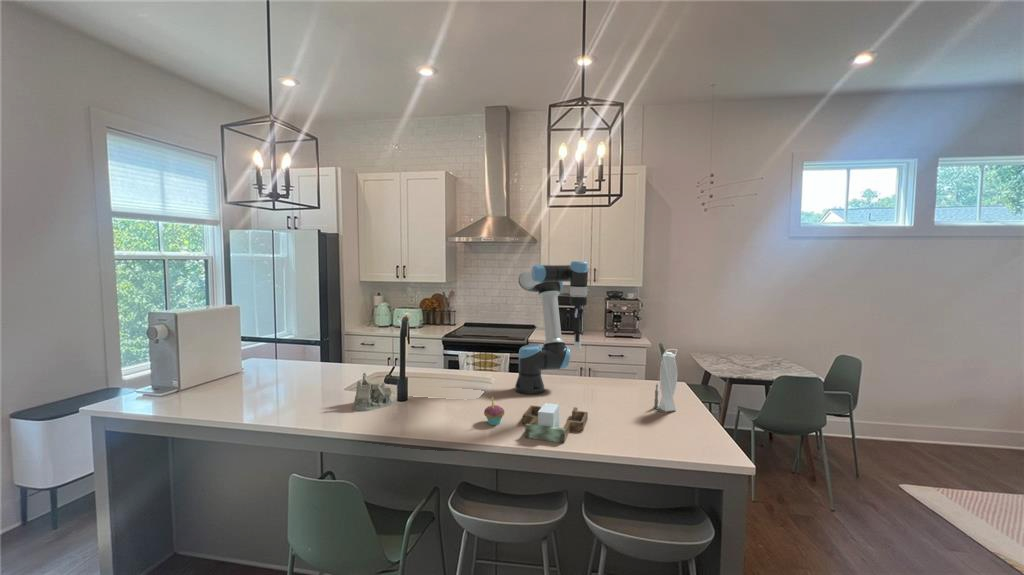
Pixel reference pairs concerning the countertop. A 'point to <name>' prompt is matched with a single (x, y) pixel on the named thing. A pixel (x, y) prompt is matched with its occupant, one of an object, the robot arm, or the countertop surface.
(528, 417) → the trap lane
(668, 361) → the skyscraper
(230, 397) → the countertop surface
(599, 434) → the countertop surface
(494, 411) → the cupcake
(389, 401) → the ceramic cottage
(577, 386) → the countertop surface
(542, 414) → the skincare box
